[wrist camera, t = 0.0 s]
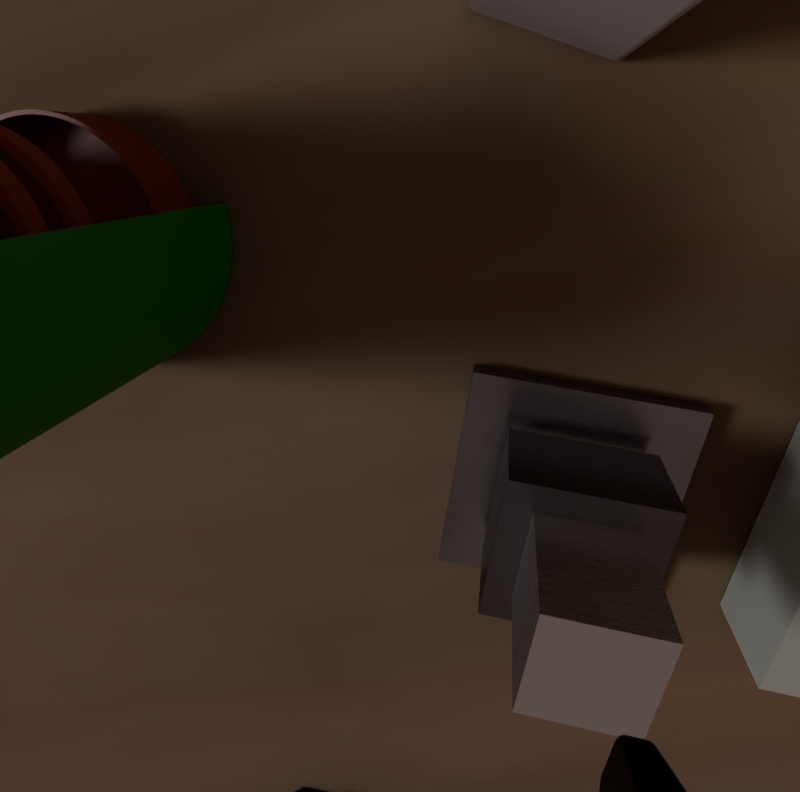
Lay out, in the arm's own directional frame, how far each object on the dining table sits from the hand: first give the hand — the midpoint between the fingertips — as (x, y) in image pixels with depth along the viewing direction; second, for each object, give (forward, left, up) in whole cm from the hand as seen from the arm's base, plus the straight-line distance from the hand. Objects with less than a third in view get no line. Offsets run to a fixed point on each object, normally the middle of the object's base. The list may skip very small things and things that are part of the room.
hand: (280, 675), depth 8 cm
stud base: (-4, -6, -15) cm, 16 cm away
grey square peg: (-4, -6, -13) cm, 15 cm away
